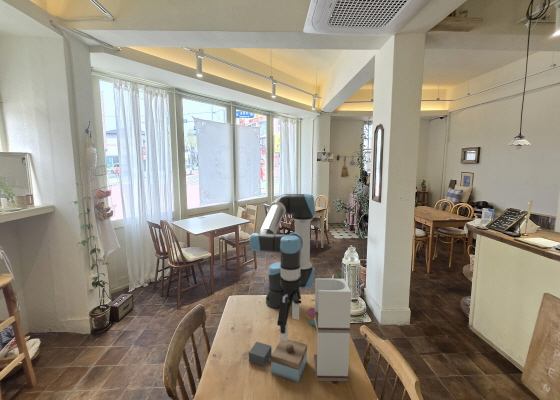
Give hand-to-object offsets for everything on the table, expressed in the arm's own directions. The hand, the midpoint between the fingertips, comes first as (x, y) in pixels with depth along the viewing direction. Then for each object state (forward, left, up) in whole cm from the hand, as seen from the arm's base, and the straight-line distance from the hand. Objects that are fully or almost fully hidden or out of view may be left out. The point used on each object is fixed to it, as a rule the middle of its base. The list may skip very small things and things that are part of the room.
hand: (290, 328), depth 96 cm
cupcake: (-32, +2, -17) cm, 36 cm away
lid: (0, 0, -11) cm, 11 cm away
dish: (0, 0, -16) cm, 16 cm away
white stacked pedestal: (-5, +15, -17) cm, 23 cm away
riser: (0, -13, -16) cm, 21 cm away
